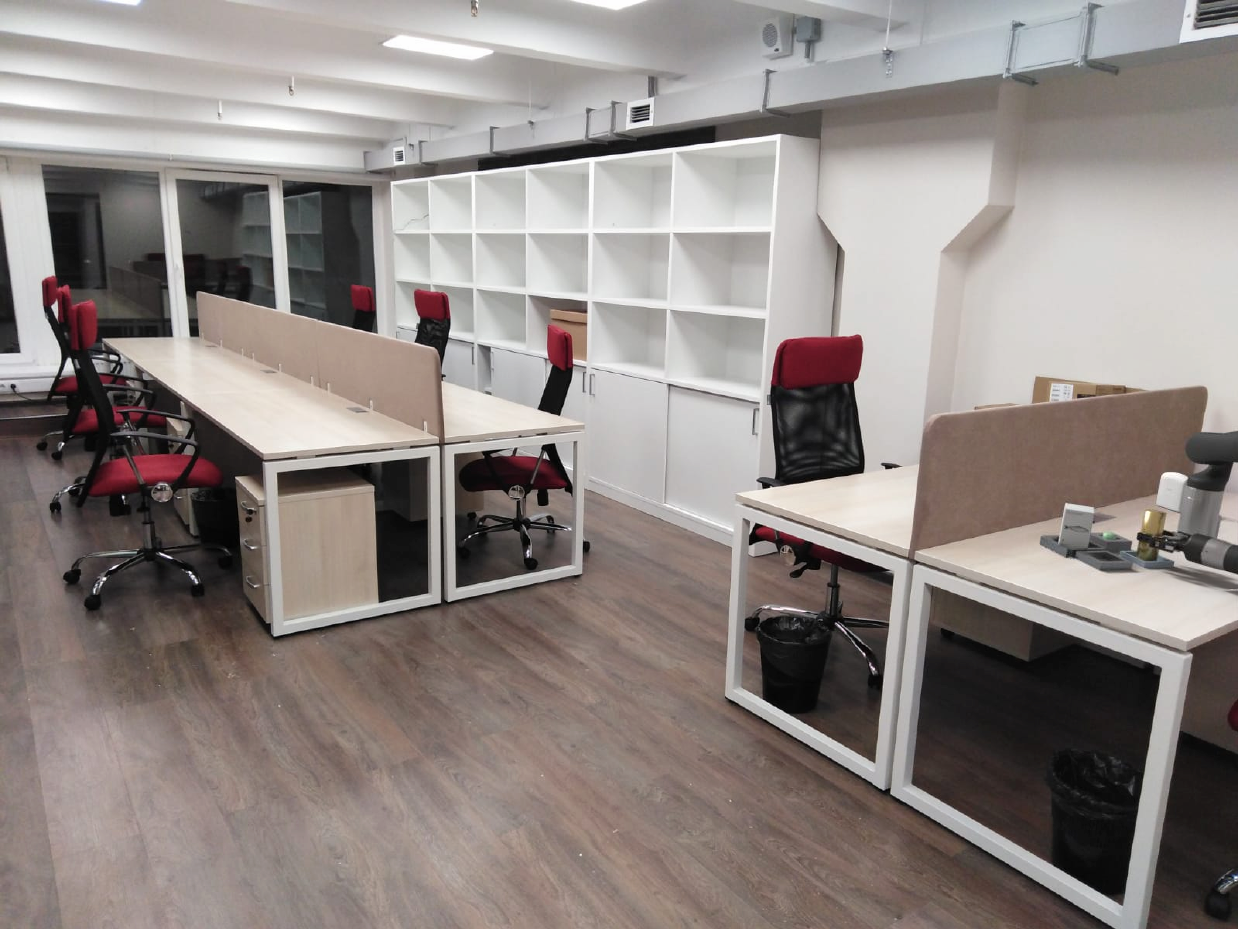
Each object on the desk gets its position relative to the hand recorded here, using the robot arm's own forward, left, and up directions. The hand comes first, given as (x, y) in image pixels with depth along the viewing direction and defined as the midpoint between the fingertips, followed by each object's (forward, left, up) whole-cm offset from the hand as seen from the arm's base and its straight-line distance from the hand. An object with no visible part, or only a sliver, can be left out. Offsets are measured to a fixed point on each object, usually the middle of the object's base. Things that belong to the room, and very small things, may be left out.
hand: (1146, 533), depth 233 cm
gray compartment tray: (+14, -4, -8) cm, 16 cm away
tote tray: (0, +1, -8) cm, 8 cm away
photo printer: (-53, -49, -8) cm, 73 cm away
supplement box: (+14, -10, -8) cm, 19 cm away
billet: (0, +1, -8) cm, 8 cm away
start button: (+2, -11, -7) cm, 13 cm away
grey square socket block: (+2, -11, -8) cm, 14 cm away
